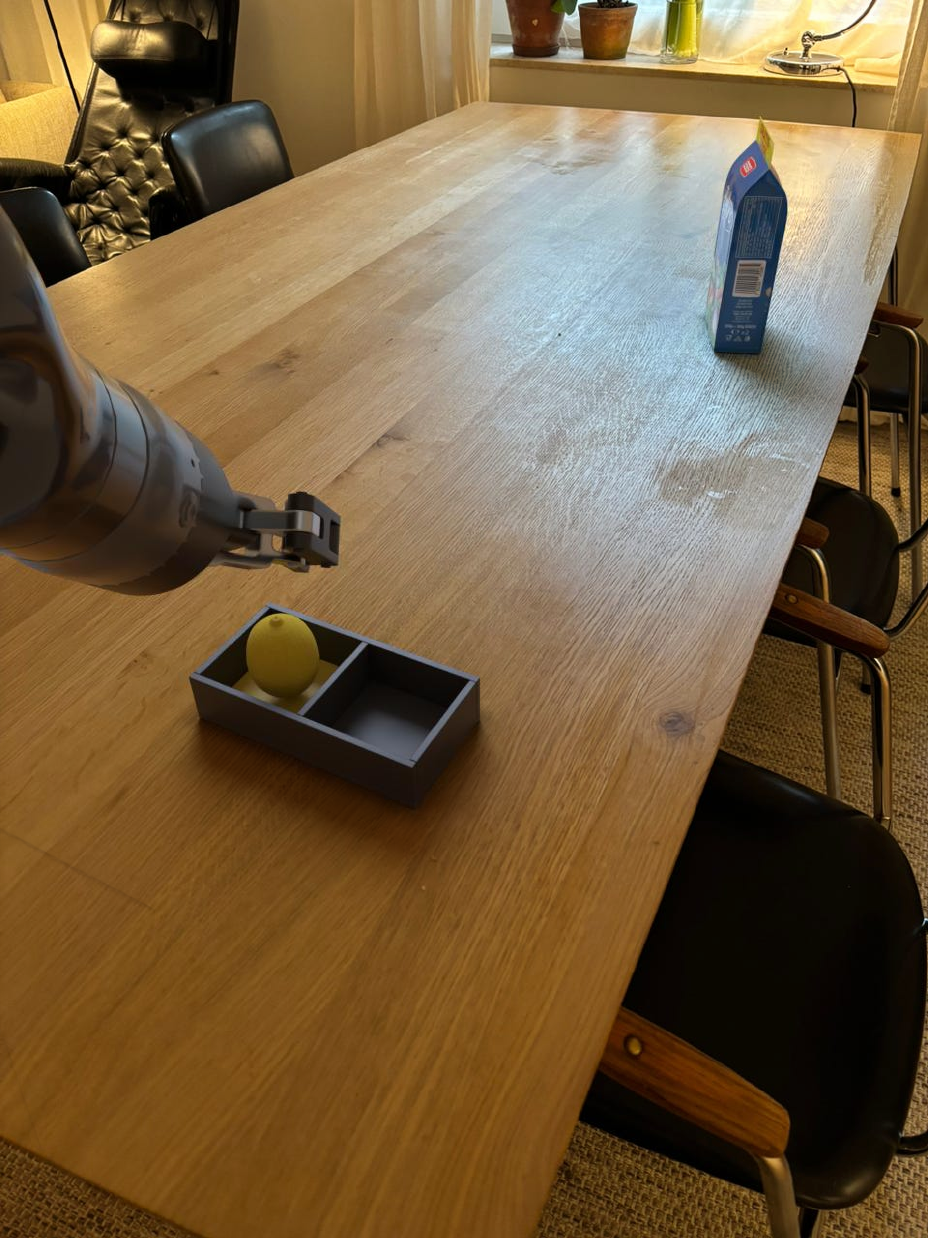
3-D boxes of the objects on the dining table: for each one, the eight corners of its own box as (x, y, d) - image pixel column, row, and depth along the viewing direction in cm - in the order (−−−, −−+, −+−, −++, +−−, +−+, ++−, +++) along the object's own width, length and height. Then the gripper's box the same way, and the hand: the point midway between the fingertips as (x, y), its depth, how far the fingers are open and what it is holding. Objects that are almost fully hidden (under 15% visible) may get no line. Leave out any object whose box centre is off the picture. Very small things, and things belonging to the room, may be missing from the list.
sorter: (415, 810, 71) (412, 768, 68) (199, 718, 79) (188, 676, 76) (480, 718, 78) (480, 677, 75) (276, 642, 85) (268, 601, 82)
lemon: (336, 699, 79) (326, 623, 74) (273, 728, 77) (258, 652, 71) (304, 661, 82) (292, 585, 77) (243, 687, 80) (226, 611, 75)
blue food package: (749, 315, 136) (786, 116, 119) (761, 354, 126) (803, 144, 110) (703, 314, 136) (733, 115, 120) (711, 352, 127) (745, 143, 111)
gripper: (292, 396, 38) (359, 487, 54) (-69, 386, 39) (104, 478, 55) (280, 591, 37) (352, 624, 53) (-86, 577, 38) (94, 614, 54)
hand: (226, 550), depth 54 cm, fingers open, 8 cm apart
